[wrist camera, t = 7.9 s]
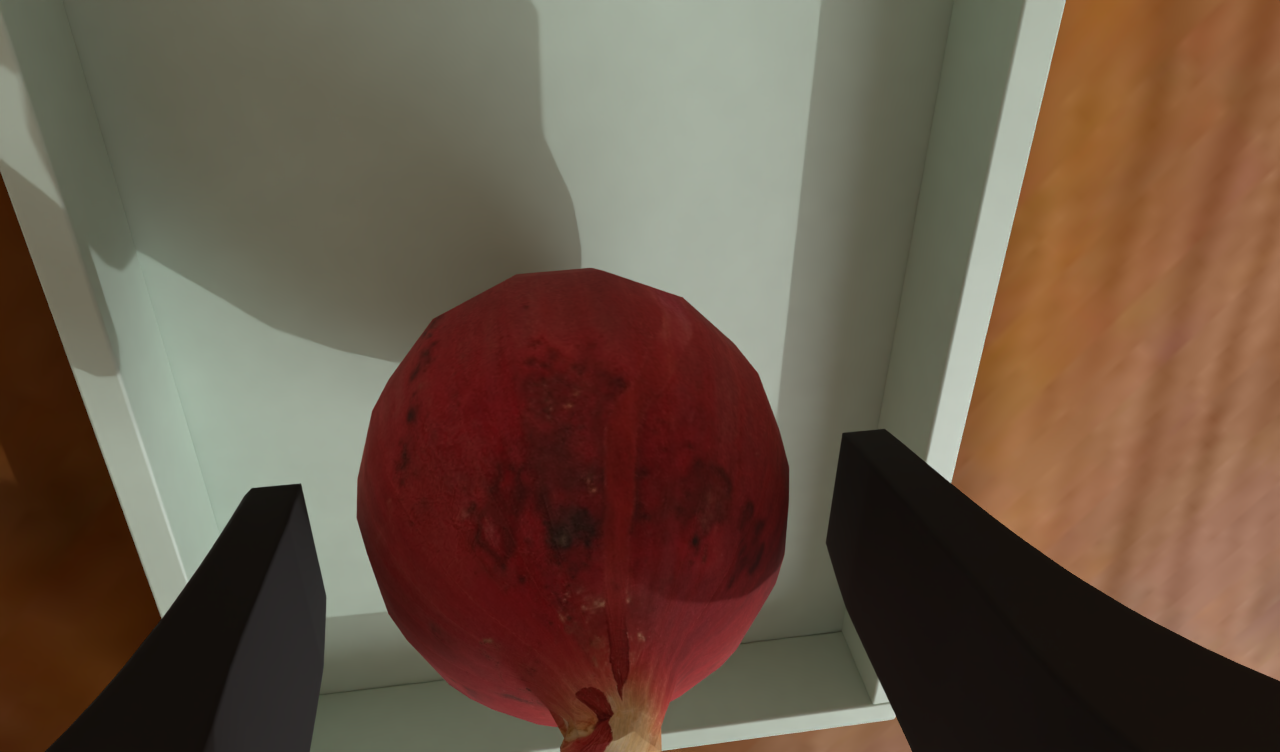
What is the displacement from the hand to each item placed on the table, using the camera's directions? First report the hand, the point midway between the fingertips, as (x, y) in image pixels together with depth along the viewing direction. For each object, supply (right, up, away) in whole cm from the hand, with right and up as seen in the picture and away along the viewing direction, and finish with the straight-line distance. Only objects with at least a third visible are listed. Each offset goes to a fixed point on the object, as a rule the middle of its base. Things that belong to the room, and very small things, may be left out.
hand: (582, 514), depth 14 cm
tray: (-1, +3, +4) cm, 5 cm away
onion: (-1, +3, +3) cm, 4 cm away
